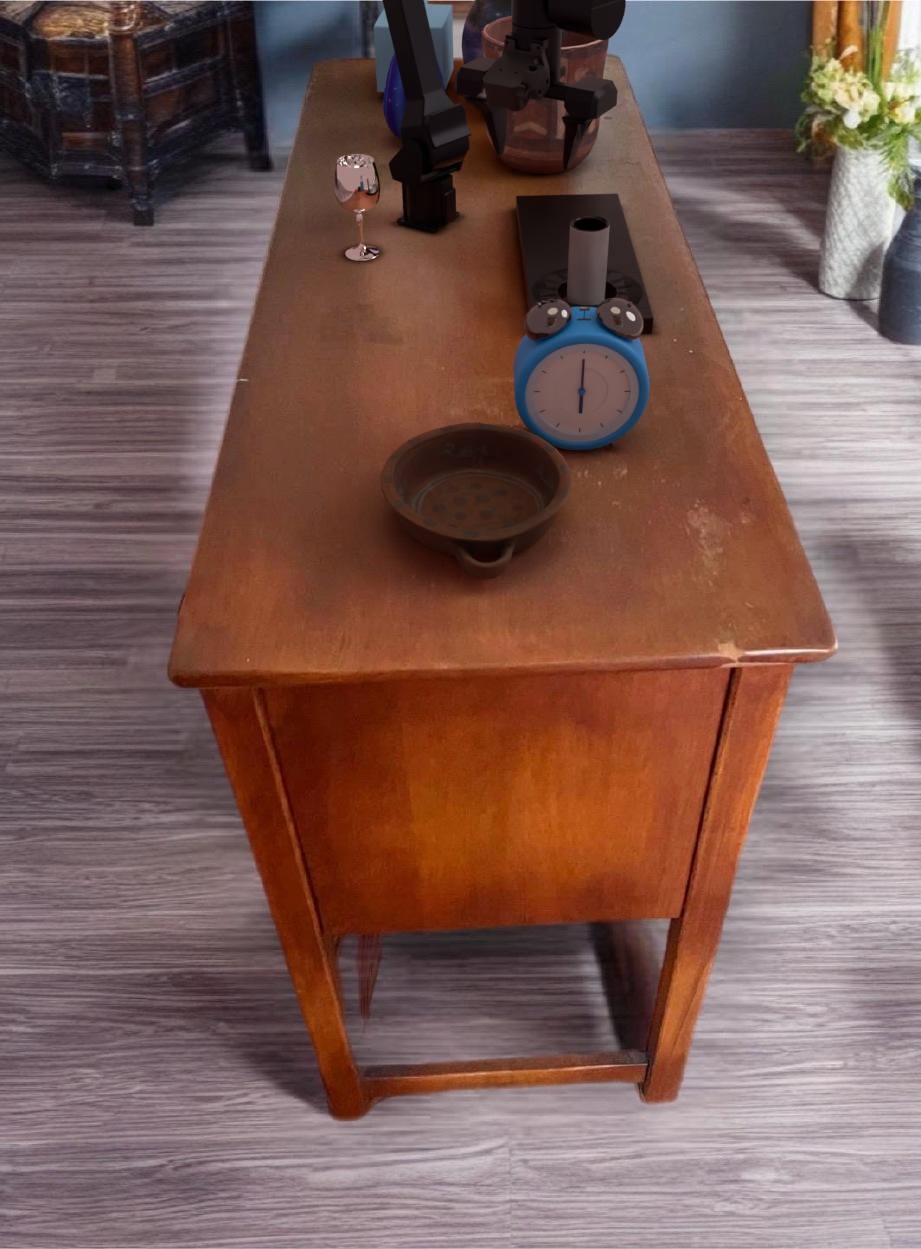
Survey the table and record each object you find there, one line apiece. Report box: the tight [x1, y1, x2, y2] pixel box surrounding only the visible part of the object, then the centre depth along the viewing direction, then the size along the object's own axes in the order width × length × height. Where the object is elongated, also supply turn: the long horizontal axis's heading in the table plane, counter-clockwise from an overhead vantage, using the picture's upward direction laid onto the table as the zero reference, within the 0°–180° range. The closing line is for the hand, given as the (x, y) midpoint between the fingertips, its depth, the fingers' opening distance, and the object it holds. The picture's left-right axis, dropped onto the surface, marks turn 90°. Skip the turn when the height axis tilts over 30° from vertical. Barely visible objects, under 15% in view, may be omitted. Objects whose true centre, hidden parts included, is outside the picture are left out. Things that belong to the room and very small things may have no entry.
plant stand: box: [515, 193, 654, 334], centre depth 150 cm, size 36×14×2 cm, turn 1°
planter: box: [566, 215, 610, 305], centre depth 140 cm, size 4×4×10 cm
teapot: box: [373, 0, 455, 93], centre depth 199 cm, size 22×11×14 cm, turn 173°
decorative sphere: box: [461, 0, 512, 65], centre depth 188 cm, size 19×20×20 cm
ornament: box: [382, 53, 446, 140], centre depth 180 cm, size 11×9×15 cm
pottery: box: [482, 16, 610, 175], centre depth 172 cm, size 18×18×18 cm
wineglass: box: [333, 153, 381, 262], centre depth 151 cm, size 6×6×12 cm
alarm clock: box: [513, 298, 651, 451], centre depth 117 cm, size 13×6×15 cm, turn 89°
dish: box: [379, 422, 572, 580], centre depth 110 cm, size 18×22×5 cm
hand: (532, 161), depth 144 cm, fingers open, 9 cm apart
